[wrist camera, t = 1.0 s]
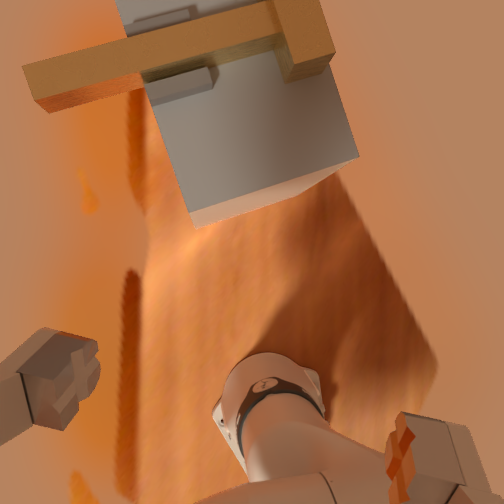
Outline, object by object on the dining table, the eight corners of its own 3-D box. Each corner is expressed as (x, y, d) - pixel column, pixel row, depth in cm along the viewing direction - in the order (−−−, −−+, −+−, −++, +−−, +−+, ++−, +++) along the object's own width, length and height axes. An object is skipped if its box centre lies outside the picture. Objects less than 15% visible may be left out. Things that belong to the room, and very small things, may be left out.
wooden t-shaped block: (322, 73, 38) (335, 52, 34) (62, 150, 35) (43, 137, 31) (290, -25, 37) (300, -58, 33) (24, 44, 34) (0, 17, 30)
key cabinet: (296, 195, 64) (365, 152, 37) (195, 229, 62) (187, 210, 34) (254, 71, 63) (293, -70, 36) (151, 101, 61) (106, -24, 34)
